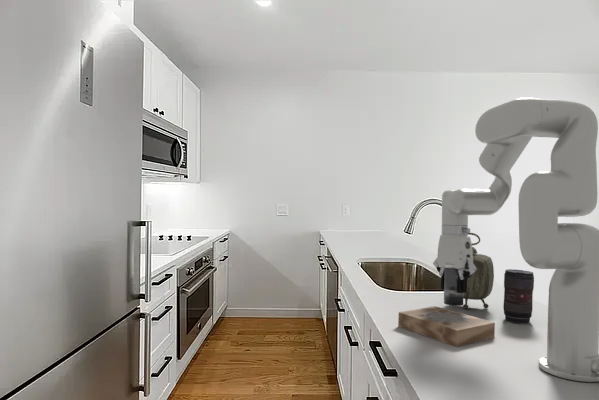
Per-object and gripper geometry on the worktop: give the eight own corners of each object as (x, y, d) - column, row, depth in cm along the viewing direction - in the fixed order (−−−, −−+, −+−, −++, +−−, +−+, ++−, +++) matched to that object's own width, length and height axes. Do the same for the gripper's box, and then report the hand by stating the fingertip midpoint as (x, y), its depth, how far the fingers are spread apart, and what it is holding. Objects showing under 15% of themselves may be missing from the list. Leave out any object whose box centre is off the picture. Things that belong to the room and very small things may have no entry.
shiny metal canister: (467, 304, 141) (468, 264, 142) (455, 306, 138) (455, 265, 138) (452, 301, 146) (452, 262, 146) (439, 302, 143) (440, 263, 143)
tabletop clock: (493, 308, 156) (495, 233, 156) (487, 314, 148) (489, 235, 148) (449, 302, 164) (450, 230, 164) (441, 307, 156) (443, 232, 156)
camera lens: (536, 325, 136) (537, 273, 136) (506, 323, 138) (507, 272, 138) (528, 318, 144) (529, 269, 144) (500, 316, 146) (501, 268, 146)
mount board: (494, 337, 124) (494, 322, 123) (456, 346, 115) (457, 330, 115) (434, 319, 140) (435, 306, 140) (398, 326, 132) (398, 312, 132)
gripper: (487, 232, 137) (486, 294, 137) (440, 229, 152) (439, 285, 152) (470, 233, 133) (469, 297, 133) (424, 229, 148) (423, 287, 148)
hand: (453, 290), depth 142 cm, fingers closed on shiny metal canister, 5 cm apart
